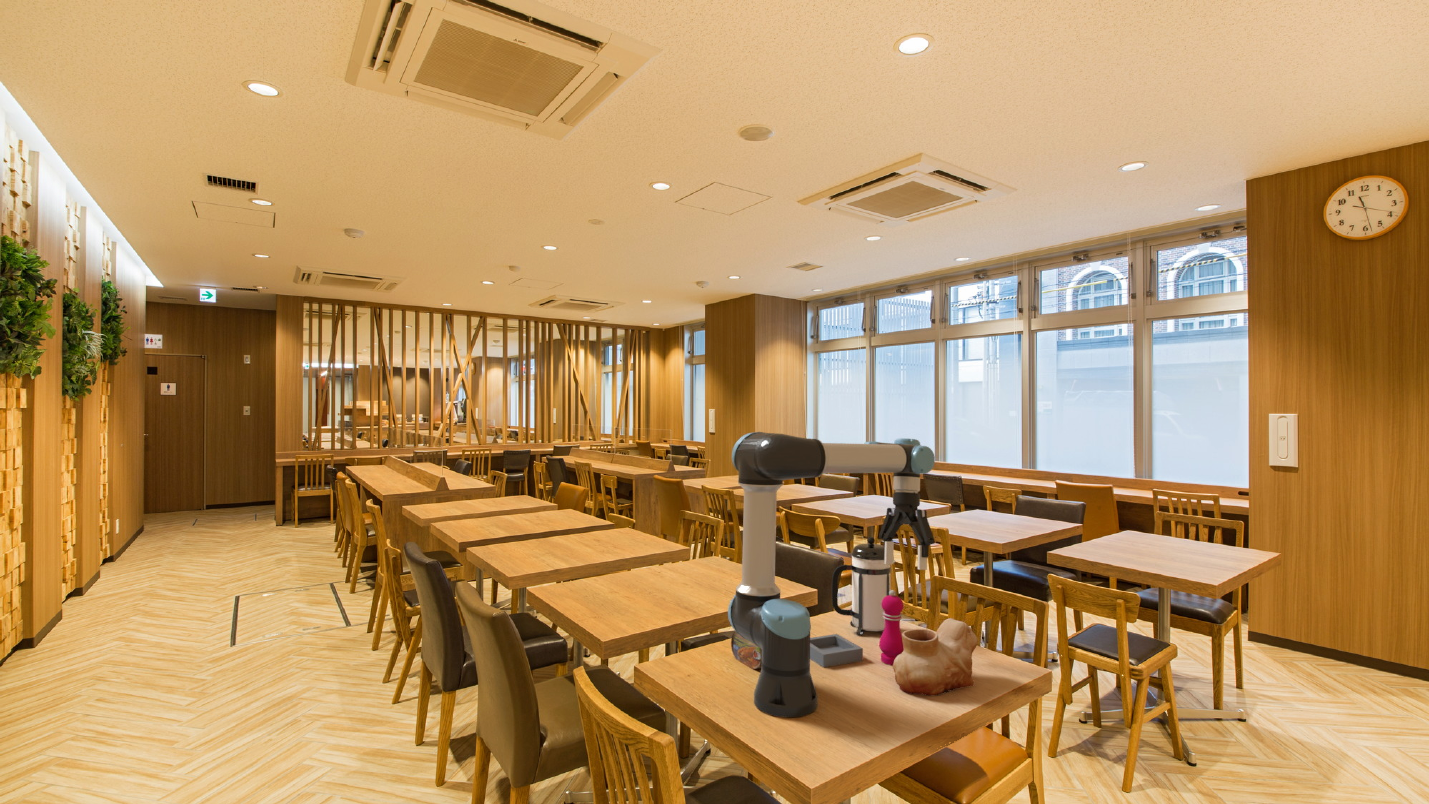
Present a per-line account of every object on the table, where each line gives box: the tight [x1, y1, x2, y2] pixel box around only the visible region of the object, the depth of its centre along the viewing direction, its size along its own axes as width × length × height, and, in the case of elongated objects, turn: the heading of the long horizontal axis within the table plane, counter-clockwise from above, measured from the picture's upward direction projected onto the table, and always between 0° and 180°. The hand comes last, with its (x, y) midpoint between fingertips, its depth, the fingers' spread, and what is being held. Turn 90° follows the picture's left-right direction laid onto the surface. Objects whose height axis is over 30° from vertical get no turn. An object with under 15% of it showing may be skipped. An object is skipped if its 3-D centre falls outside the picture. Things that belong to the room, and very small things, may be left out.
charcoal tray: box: [810, 633, 864, 668], centre depth 188 cm, size 13×13×4 cm
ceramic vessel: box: [892, 617, 979, 697], centre depth 170 cm, size 14×26×15 cm, turn 119°
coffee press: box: [831, 536, 896, 637], centre depth 210 cm, size 17×16×30 cm
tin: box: [730, 630, 762, 670], centre depth 183 cm, size 15×3×8 cm, turn 31°
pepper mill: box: [878, 589, 904, 666], centre depth 185 cm, size 7×7×20 cm
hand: (904, 566), depth 187 cm, fingers open, 13 cm apart
